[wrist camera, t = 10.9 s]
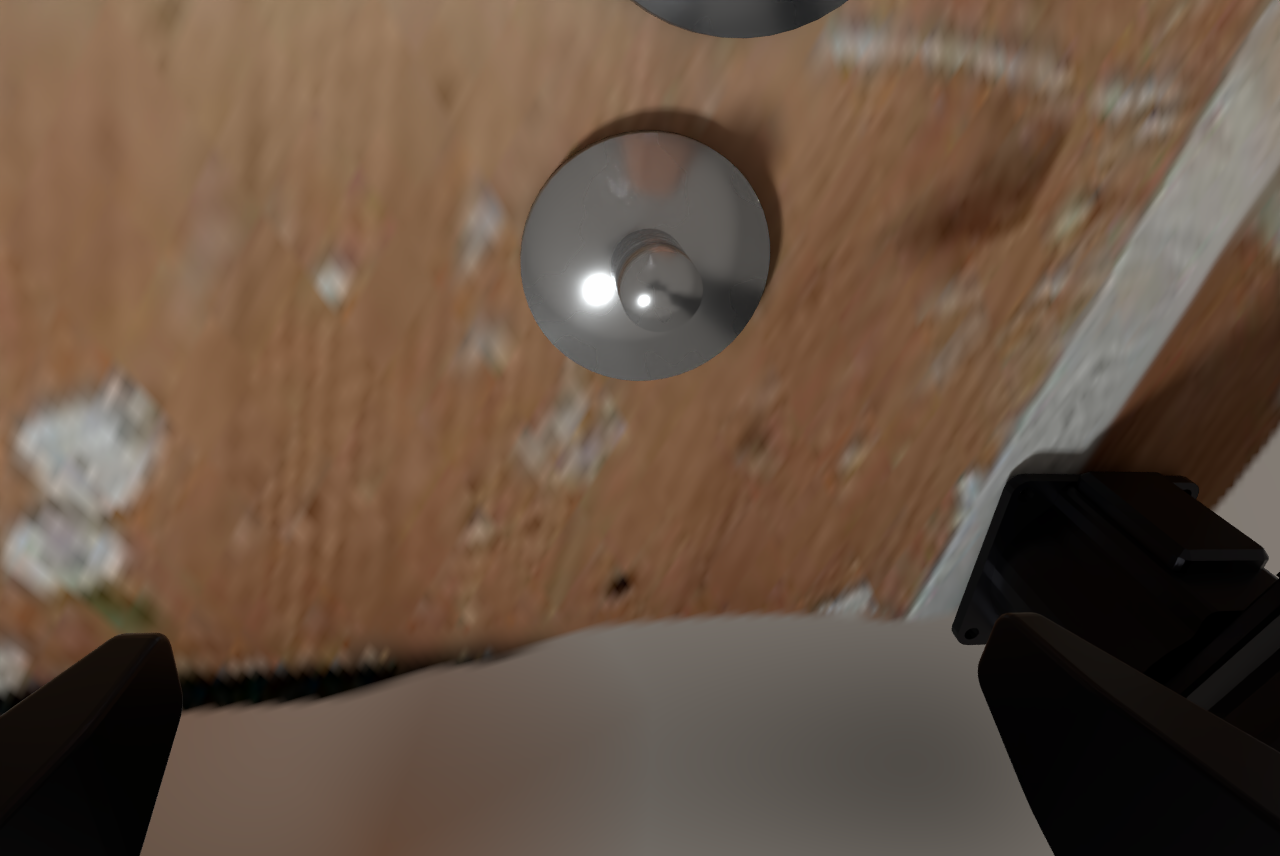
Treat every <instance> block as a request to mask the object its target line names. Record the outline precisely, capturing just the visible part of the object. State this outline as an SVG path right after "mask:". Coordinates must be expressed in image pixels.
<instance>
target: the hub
mask: <svg viewBox="0 0 1280 856" xmlns="http://www.w3.org/2000/svg"><path fill="white" fill-rule="evenodd" d="M631 1H632V2H634V3H635V4H636V5H638V6H639V7H641V8H642V9H643V10H645V11H646V12H648V13H650V14H651V15H653V16H655V17H657V18H659V19H661V20H663V21H665V22H667V23H668V24H671V25H674V26H677V27H679V28H682V29H685V30H688V31H691V32H695V33H700V34H705V35H711V36H716V37H728V38H753V37H761V36H770V35H774V34H778V33H782V32H786V31H789V30H793V29H796V28H798V27H801V26H803V25H806V24H808V23H810V22H813V21H815V20H817V19H819V18H821V17H823V16H824V15H826V14H828V13H829V12H831V11H833V10H835V9H836V8H838V7H840V6H841V5H842V4H844V3H845V2H846V1H848V0H631Z"/></svg>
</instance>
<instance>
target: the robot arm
mask: <svg viewBox="0 0 1280 856" xmlns="http://www.w3.org/2000/svg"><path fill="white" fill-rule="evenodd" d="M1024 489H1025V491H1024V492H1023V493H1021V494H1020V492H1021V491H1022V490H1024ZM1198 493H1199V488H1198V486H1197V485H1196V484H1195V483H1193V482H1192V481H1191V480H1189V479H1188V478H1186V477H1183V476H1163V475H1161V474H1159V473H1156V472H1087V473H1084V474H1081V475H1070V474H1021V475H1017V476H1015V477H1013V478H1012V479H1010V480H1009V481H1008V482H1007V484H1006V485H1005V487H1004V489H1003V492H1002V495H1001V497H1000V500H999V503H998V505H997V508H996V511H995V513H994V516H993V519H992V521H991V524H990V527H989V529H988V532H987V535H986V537H985V540H984V543H983V545H982V548H981V551H980V553H979V556H978V558H977V561H976V564H975V566H974V569H973V572H972V574H971V577H970V580H969V582H968V585H967V588H966V590H965V593H964V596H963V598H962V601H961V604H960V606H959V609H958V612H957V614H956V617H955V620H954V622H953V625H952V632H953V634H954V635H955V637H956V638H957V640H958V641H959V642H960V643H961V644H964V645H981V644H986V646H985V649H984V651H983V654H982V656H981V659H980V661H979V664H978V678H979V683H980V686H981V689H982V692H983V694H984V696H985V699H986V701H987V704H988V706H989V709H990V711H991V714H992V716H993V719H994V721H995V723H996V726H997V728H998V731H999V733H1000V736H1001V738H1002V741H1003V743H1004V745H1005V748H1006V750H1007V753H1008V755H1009V758H1010V760H1011V763H1012V765H1013V768H1014V770H1015V772H1016V775H1017V777H1018V780H1019V782H1020V785H1021V787H1022V790H1023V792H1024V794H1025V796H1026V799H1027V801H1028V803H1029V805H1030V808H1031V810H1032V812H1033V814H1034V816H1035V818H1036V820H1037V822H1038V824H1039V826H1040V828H1041V830H1042V832H1043V834H1044V836H1045V838H1046V840H1047V842H1048V844H1049V846H1050V848H1051V849H1052V851H1053V853H1054V855H1055V856H1280V572H1279V573H1278V574H1277V576H1278V577H1279V579H1278V578H1277V577H1276V576H1274V575H1273V574H1271V573H1270V572H1269V571H1267V570H1266V569H1265V568H1264V566H1265V564H1266V563H1267V561H1268V559H1269V557H1268V555H1267V553H1266V551H1265V550H1264V548H1263V547H1261V546H1260V545H1259V544H1257V543H1256V542H1255V541H1253V540H1252V539H1251V538H1249V537H1248V536H1246V535H1245V534H1244V533H1242V532H1241V531H1239V530H1238V529H1236V528H1235V527H1234V526H1232V525H1231V524H1229V523H1228V522H1227V521H1225V520H1224V519H1222V518H1221V517H1220V516H1218V515H1217V514H1216V513H1214V512H1213V511H1211V510H1210V509H1209V508H1207V507H1206V506H1204V505H1203V504H1202V503H1200V502H1199V501H1197V500H1196V498H1197V496H1198ZM182 704H183V696H182V689H181V685H180V681H179V677H178V673H177V668H176V664H175V660H174V656H173V652H172V647H171V644H170V642H169V640H168V638H167V637H166V636H165V635H163V634H161V633H126V634H120V635H117V636H115V637H113V638H111V639H109V640H108V641H106V642H105V643H104V644H102V645H101V646H99V647H98V648H97V649H95V650H94V651H92V652H91V653H89V654H88V655H87V656H85V657H84V658H82V659H81V660H80V661H78V662H77V663H75V664H74V665H72V666H71V667H70V668H68V669H67V670H65V671H64V672H62V673H61V674H60V675H58V676H57V677H55V678H54V679H53V680H51V681H50V682H48V683H47V684H45V685H44V686H43V687H41V688H40V689H38V690H37V691H36V692H34V693H33V694H31V695H30V696H28V697H27V698H26V699H24V700H23V701H21V702H20V703H18V704H17V705H16V706H14V707H13V708H11V709H10V710H9V711H7V712H6V713H4V714H3V715H1V716H0V856H140V853H141V850H142V847H143V843H144V840H145V837H146V833H147V830H148V826H149V823H150V820H151V816H152V813H153V809H154V806H155V802H156V799H157V796H158V792H159V789H160V785H161V782H162V778H163V775H164V772H165V768H166V765H167V762H168V758H169V755H170V752H171V748H172V745H173V741H174V738H175V735H176V731H177V728H178V725H179V721H180V717H181V712H182Z"/></svg>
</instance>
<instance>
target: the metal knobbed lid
mask: <svg viewBox="0 0 1280 856" xmlns="http://www.w3.org/2000/svg"><path fill="white" fill-rule="evenodd" d="M520 255H521V277H522V283H523V288H524V293H525V296H526V299H527V302H528V305H529V308H530V310H531V312H532V314H533V316H534V318H535V321H536V322H537V324H538V325H539V327H540V328H541V330H542V331H543V333H544V334H545V335H546V337H547V338H548V339H549V340H550V341H551V342H552V344H553V345H554V346H555V347H556V348H557V349H559V350H560V351H561V352H562V353H563V354H564V355H565V356H567V357H568V358H570V359H571V360H573V361H574V362H576V363H577V364H579V365H581V366H583V367H585V368H587V369H588V370H590V371H593V372H596V373H598V374H601V375H604V376H608V377H612V378H617V379H622V380H633V381H645V380H656V379H663V378H668V377H672V376H675V375H679V374H682V373H684V372H687V371H689V370H692V369H694V368H696V367H698V366H700V365H702V364H704V363H705V362H707V361H709V360H710V359H712V358H713V357H714V356H716V355H717V354H719V353H720V352H721V351H722V350H724V349H725V348H726V347H727V346H728V345H729V344H730V343H731V342H732V341H733V340H734V339H735V338H736V337H737V336H738V335H739V334H740V332H741V331H742V330H743V329H744V327H745V326H746V324H747V323H748V321H749V320H750V319H751V317H752V315H753V313H754V311H755V309H756V308H757V306H758V304H759V301H760V299H761V296H762V294H763V291H764V288H765V284H766V280H767V276H768V270H769V262H770V239H769V232H768V226H767V222H766V219H765V215H764V212H763V209H762V207H761V204H760V202H759V200H758V197H757V195H756V194H755V192H754V190H753V189H752V187H751V185H750V184H749V182H748V181H747V180H746V178H745V177H744V176H743V175H742V174H741V172H740V171H739V170H738V169H737V168H736V167H735V166H734V165H733V164H732V163H730V162H729V161H728V160H727V159H726V158H725V157H723V156H722V155H720V154H719V153H718V152H716V151H715V150H713V149H712V148H710V147H709V146H707V145H705V144H703V143H701V142H699V141H697V140H694V139H692V138H689V137H686V136H683V135H680V134H677V133H671V132H665V131H652V130H640V131H632V132H624V133H621V134H617V135H613V136H609V137H606V138H604V139H602V140H599V141H597V142H594V143H592V144H590V145H589V146H587V147H585V148H583V149H582V150H580V151H578V152H577V153H575V154H574V155H573V156H572V157H570V158H569V159H568V160H567V161H565V162H564V163H563V164H562V165H561V166H560V167H559V168H558V169H557V170H556V171H555V172H554V173H553V174H552V175H551V176H550V178H549V179H548V180H547V182H546V183H545V184H544V186H543V187H542V188H541V190H540V192H539V193H538V195H537V197H536V199H535V201H534V203H533V204H532V207H531V209H530V212H529V214H528V217H527V220H526V223H525V227H524V231H523V236H522V243H521V253H520Z"/></svg>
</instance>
